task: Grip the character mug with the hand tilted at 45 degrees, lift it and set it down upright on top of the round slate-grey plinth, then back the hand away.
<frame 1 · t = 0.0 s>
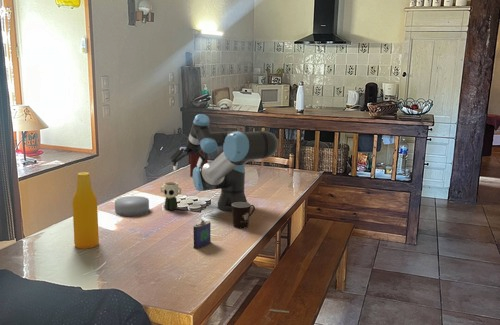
hand: (186, 168, 260), 15 cm above the table, tool tilted 35°, fingers open, 13 cm apart
glass decanter: (197, 175, 309), on the table
coffee mug: (243, 226, 218), on the table
plinth: (132, 210, 235), on the table
beer bottle: (86, 245, 192), on the table
flask: (202, 245, 195), on the table
character mug: (171, 209, 240), on the table
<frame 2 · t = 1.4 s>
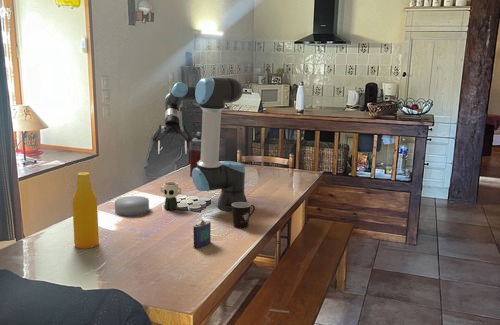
hand: (172, 152, 247), 26 cm above the table, tool tilted 45°, fingers open, 13 cm apart
nothing on the table moved.
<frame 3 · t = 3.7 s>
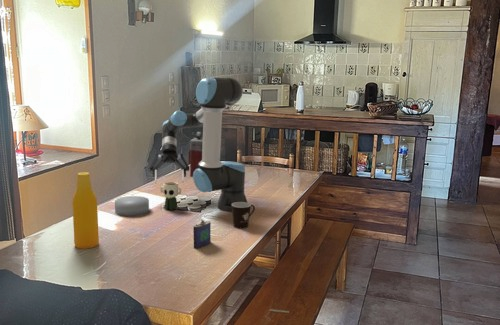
hand: (169, 182, 243), 12 cm above the table, tool tilted 45°, fingers open, 13 cm apart
nothing on the table moved.
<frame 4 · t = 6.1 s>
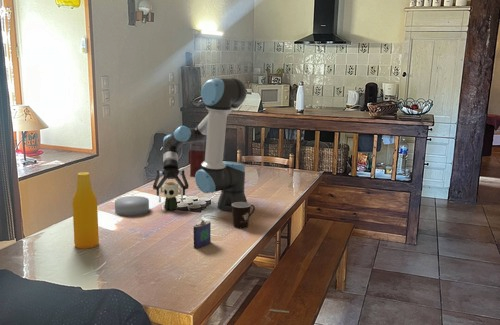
hand: (170, 200, 236), 5 cm above the table, tool tilted 45°, fingers closed on character mug, 10 cm apart
character mug: (171, 209, 240), on the table, touching gripper
everything else where it was.
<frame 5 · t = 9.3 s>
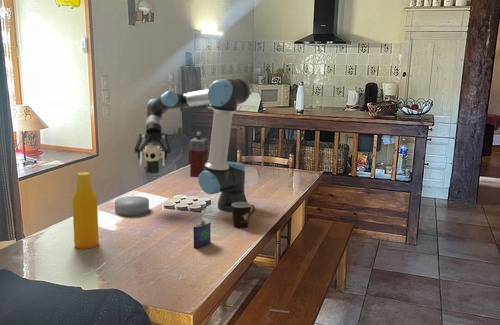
hand: (152, 164, 232), 23 cm above the table, tool tilted 45°, fingers closed on character mug, 10 cm apart
character mug: (152, 173, 236), point 18 cm above the table, touching gripper
everything else where it was.
when the fingers open (11 cm above the table, at t = 12.7 s): character mug drops 1 cm, resting on plinth.
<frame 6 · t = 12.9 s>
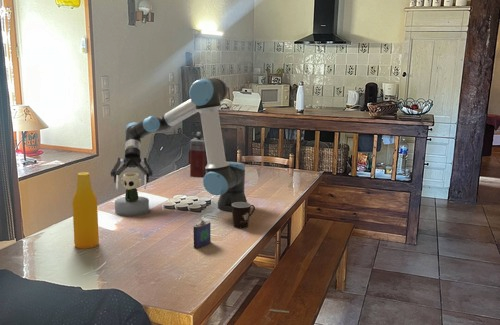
hand: (131, 188, 230), 12 cm above the table, tool tilted 45°, fingers open, 12 cm apart
character mug: (131, 201, 234), point 5 cm above the table, touching plinth
everything else where it was.
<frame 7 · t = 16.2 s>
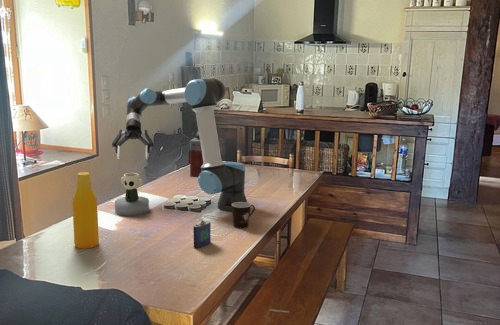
hand: (132, 158, 239), 24 cm above the table, tool tilted 45°, fingers open, 13 cm apart
nothing on the table moved.
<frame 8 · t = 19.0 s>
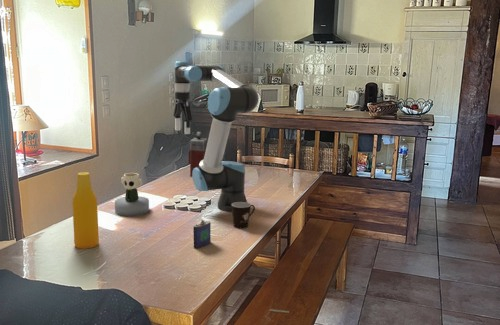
hand: (182, 132, 256), 35 cm above the table, tool pointing down, fingers open, 13 cm apart
nothing on the table moved.
at the end: character mug inside the target area on the plinth (0.1 cm from its centre), point 4.8 cm above the plinth's base; character mug tilted 0°; the gripper is holding nothing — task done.
